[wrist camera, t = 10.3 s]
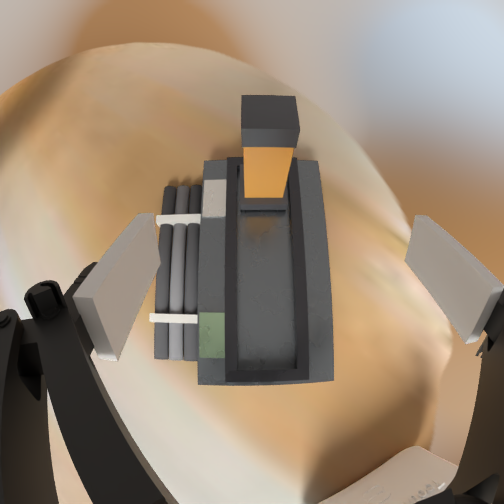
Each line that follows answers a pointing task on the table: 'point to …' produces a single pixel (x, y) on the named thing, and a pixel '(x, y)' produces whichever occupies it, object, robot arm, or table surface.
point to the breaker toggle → (267, 150)
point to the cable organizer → (400, 480)
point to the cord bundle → (177, 274)
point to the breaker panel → (263, 283)
